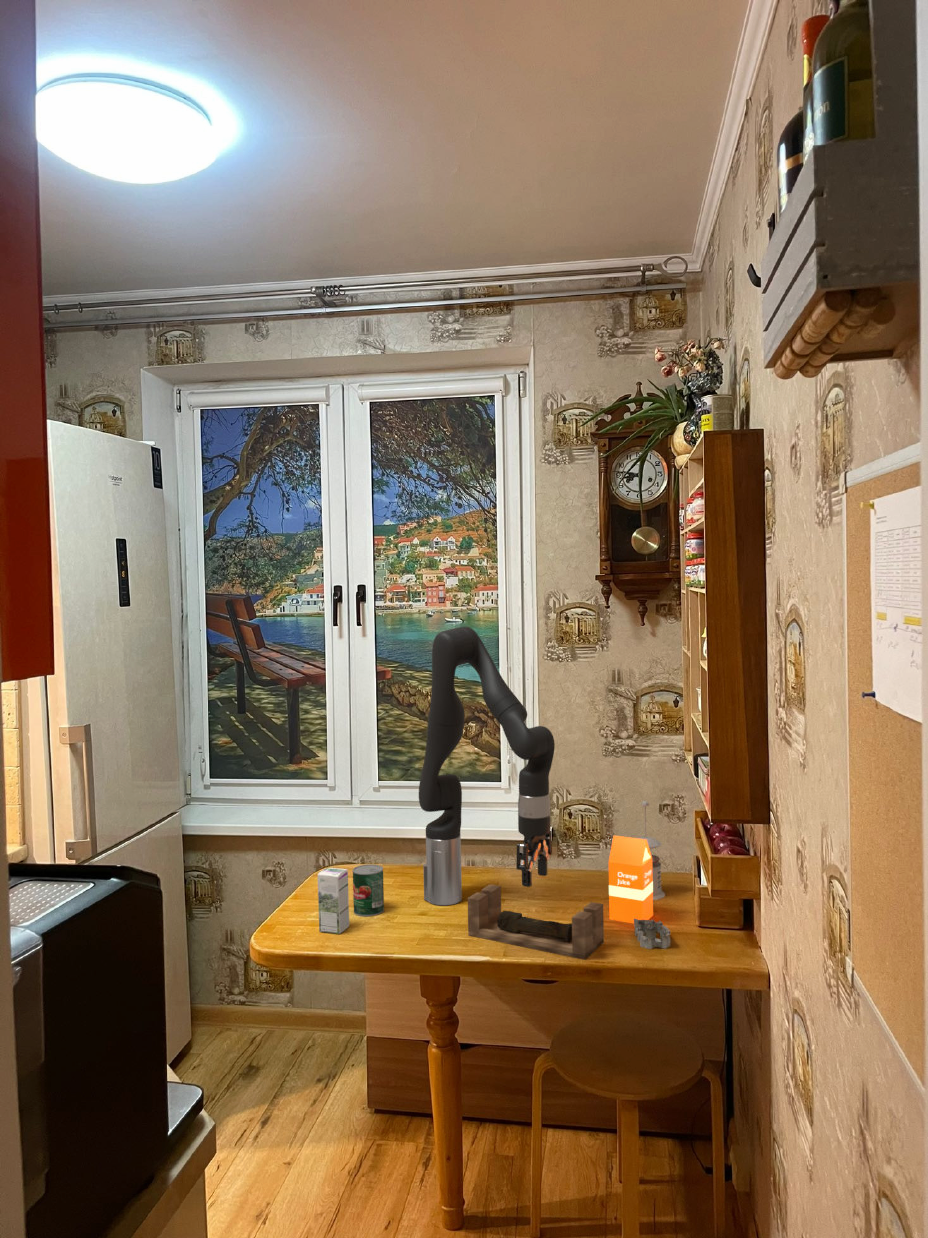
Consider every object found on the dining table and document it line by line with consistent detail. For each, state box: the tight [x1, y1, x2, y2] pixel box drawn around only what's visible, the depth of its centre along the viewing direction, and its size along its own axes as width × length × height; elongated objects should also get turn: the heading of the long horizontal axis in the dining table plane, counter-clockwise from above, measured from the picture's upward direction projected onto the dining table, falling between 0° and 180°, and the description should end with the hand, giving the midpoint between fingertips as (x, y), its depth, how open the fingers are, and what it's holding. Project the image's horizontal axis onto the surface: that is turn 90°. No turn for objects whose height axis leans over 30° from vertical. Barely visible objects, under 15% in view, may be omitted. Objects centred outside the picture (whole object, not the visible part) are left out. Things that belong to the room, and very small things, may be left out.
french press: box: [637, 800, 666, 901], centre depth 239 cm, size 10×12×25 cm
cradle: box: [467, 884, 605, 961], centre depth 211 cm, size 30×11×9 cm, turn 59°
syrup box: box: [317, 867, 350, 935], centre depth 220 cm, size 6×6×14 cm
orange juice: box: [608, 835, 654, 924], centre depth 223 cm, size 8×9×20 cm
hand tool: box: [497, 910, 572, 943], centre depth 211 cm, size 19×4×5 cm, turn 60°
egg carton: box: [633, 918, 672, 950], centre depth 209 cm, size 11×8×4 cm
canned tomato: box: [352, 863, 385, 918], centre depth 232 cm, size 8×8×11 cm
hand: (534, 880), depth 211 cm, fingers open, 8 cm apart
